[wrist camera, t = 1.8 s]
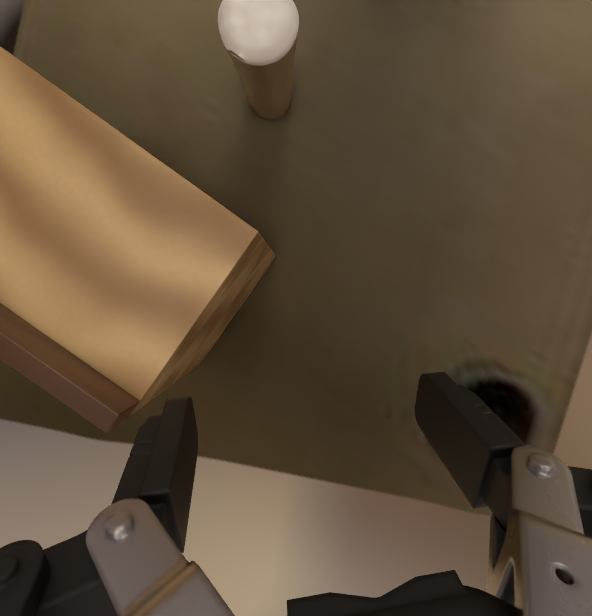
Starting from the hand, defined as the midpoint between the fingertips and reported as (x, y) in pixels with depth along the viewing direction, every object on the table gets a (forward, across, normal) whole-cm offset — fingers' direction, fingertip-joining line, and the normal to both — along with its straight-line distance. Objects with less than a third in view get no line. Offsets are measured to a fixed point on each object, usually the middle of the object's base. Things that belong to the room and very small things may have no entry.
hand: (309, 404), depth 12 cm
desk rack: (+20, +9, 0) cm, 21 cm away
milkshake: (+23, -1, -12) cm, 25 cm away
